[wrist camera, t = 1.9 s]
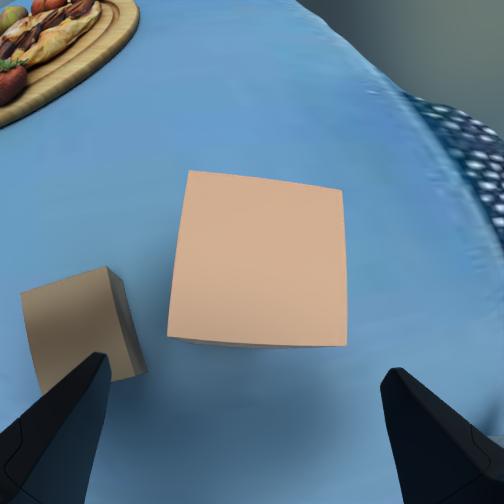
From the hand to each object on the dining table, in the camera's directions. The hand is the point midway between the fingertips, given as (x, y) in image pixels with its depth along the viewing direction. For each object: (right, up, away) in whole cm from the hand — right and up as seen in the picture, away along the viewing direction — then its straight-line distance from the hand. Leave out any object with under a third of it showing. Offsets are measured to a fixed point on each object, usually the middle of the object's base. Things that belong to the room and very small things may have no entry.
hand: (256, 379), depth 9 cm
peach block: (-2, 0, +12) cm, 12 cm away
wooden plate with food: (-30, +31, +19) cm, 47 cm away
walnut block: (-11, -2, +10) cm, 15 cm away
